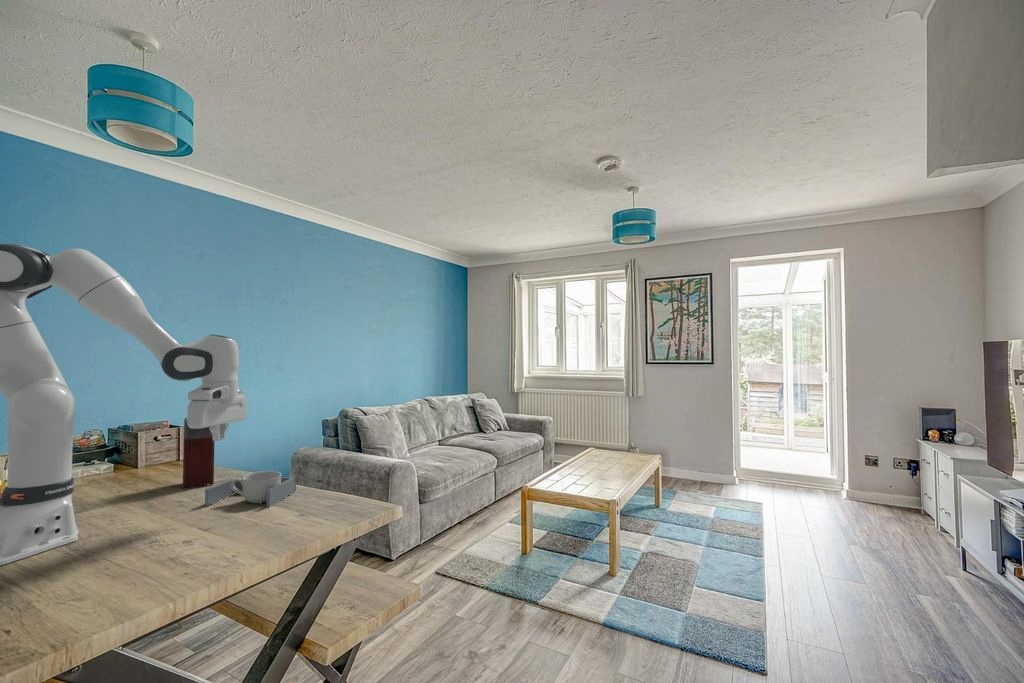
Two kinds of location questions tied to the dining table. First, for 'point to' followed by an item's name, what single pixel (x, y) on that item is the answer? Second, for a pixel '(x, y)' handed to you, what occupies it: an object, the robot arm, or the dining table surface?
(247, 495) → the teacup
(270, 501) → the box
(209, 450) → the dark red piece
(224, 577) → the dining table surface
